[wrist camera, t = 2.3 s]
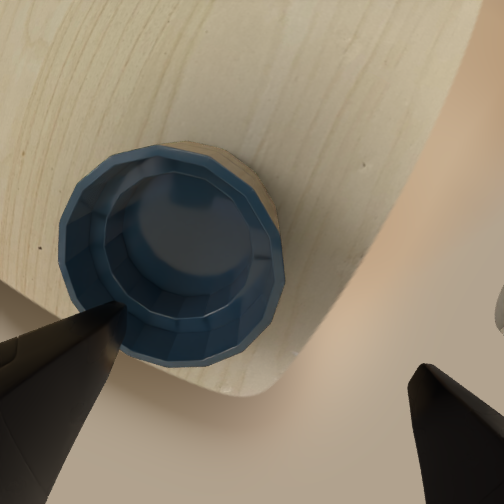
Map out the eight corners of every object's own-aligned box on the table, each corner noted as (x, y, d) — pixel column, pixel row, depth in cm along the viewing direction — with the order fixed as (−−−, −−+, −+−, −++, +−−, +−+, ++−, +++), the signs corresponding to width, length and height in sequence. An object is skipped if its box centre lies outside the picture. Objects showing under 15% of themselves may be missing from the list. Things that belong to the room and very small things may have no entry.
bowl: (315, 217, 16) (336, 253, 11) (210, 337, 19) (196, 397, 14) (165, 106, 14) (125, 97, 10) (82, 247, 17) (34, 285, 12)
